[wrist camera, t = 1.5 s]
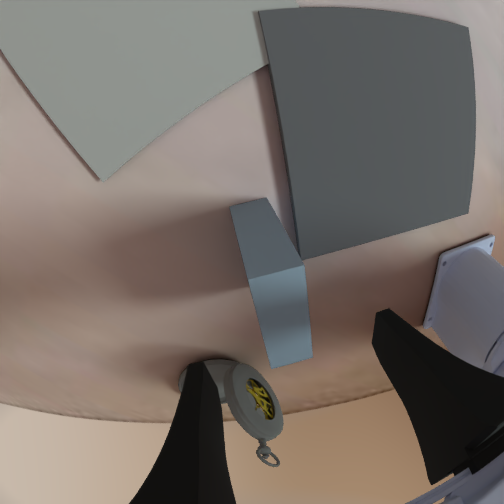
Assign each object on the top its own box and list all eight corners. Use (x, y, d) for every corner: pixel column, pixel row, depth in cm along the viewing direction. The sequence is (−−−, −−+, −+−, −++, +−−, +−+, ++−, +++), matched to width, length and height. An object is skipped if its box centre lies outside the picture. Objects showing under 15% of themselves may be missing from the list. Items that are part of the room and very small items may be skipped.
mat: (463, 210, 20) (468, 213, 20) (298, 255, 20) (301, 260, 19) (462, 27, 12) (468, 27, 12) (256, 13, 12) (258, 10, 11)
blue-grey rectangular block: (281, 278, 21) (312, 357, 15) (249, 286, 21) (271, 368, 15) (266, 197, 17) (304, 264, 11) (229, 206, 17) (248, 279, 11)
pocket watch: (172, 392, 26) (177, 489, 17) (191, 335, 22) (198, 458, 14) (252, 399, 28) (272, 486, 20) (287, 347, 25) (322, 453, 16)
